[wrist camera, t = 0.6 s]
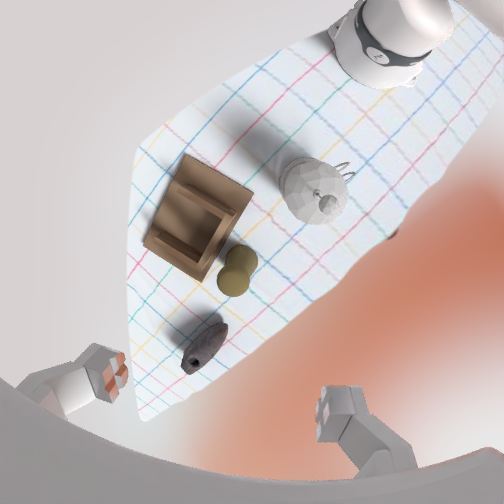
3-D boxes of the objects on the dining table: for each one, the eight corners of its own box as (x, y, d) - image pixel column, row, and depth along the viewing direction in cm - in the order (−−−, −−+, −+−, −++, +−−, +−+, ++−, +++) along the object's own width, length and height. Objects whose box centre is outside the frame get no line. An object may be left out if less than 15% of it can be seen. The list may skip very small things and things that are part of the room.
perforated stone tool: (220, 311, 56) (212, 329, 50) (239, 326, 57) (234, 346, 50) (182, 348, 61) (172, 366, 54) (199, 361, 62) (191, 380, 55)
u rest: (188, 155, 47) (176, 154, 42) (254, 193, 48) (250, 196, 43) (145, 244, 54) (132, 252, 48) (202, 280, 55) (194, 292, 49)
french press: (268, 175, 47) (252, 186, 23) (325, 142, 44) (366, 121, 20) (297, 222, 49) (308, 279, 25) (353, 191, 46) (414, 218, 22)
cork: (222, 268, 53) (207, 294, 43) (232, 240, 51) (218, 260, 41) (251, 280, 53) (243, 308, 43) (262, 252, 51) (256, 275, 41)
